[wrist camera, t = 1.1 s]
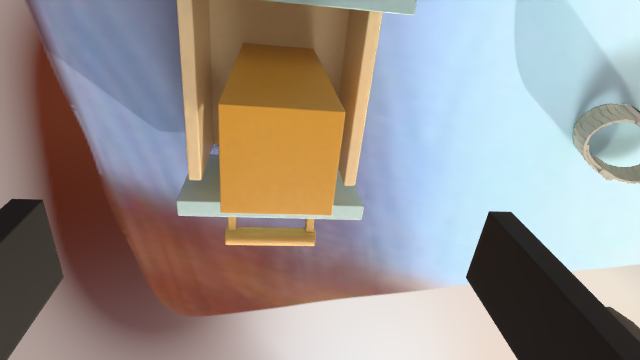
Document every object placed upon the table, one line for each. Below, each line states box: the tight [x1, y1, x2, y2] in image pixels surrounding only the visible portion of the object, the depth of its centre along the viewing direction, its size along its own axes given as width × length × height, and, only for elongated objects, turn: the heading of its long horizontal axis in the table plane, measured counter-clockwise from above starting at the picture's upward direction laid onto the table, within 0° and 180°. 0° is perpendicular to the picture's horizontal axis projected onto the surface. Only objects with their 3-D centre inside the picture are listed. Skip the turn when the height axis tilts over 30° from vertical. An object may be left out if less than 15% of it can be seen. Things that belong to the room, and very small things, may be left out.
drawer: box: [177, 0, 383, 246], centre depth 27 cm, size 21×13×7 cm, turn 174°
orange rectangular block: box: [218, 43, 345, 216], centre depth 22 cm, size 5×5×14 cm
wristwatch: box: [573, 103, 640, 183], centre depth 34 cm, size 9×6×5 cm
